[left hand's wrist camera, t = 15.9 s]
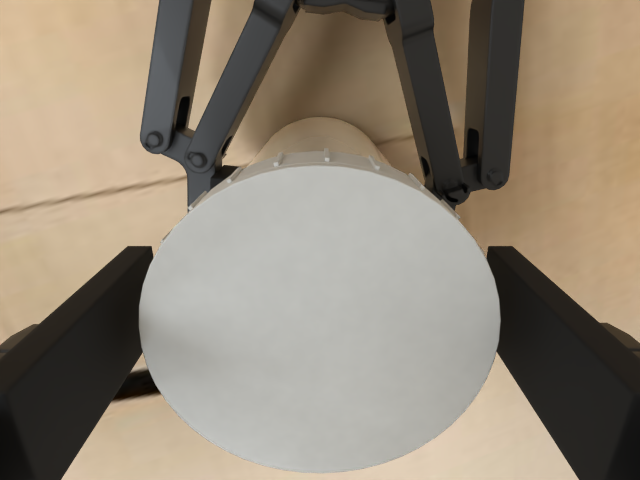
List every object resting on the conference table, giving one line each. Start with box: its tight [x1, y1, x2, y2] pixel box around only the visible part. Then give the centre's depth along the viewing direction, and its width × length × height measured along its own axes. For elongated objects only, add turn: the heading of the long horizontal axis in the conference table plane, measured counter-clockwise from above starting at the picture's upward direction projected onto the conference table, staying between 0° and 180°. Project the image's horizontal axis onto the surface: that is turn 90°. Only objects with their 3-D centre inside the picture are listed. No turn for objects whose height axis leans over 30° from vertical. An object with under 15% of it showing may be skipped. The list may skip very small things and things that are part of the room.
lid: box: [139, 148, 501, 473], centre depth 11 cm, size 9×9×2 cm
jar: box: [247, 117, 392, 167], centre depth 18 cm, size 8×8×16 cm
